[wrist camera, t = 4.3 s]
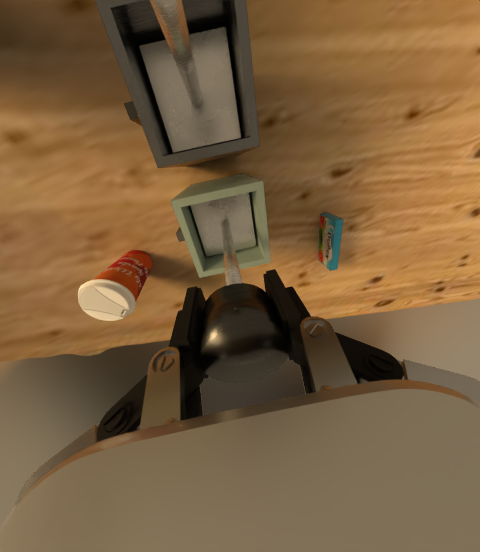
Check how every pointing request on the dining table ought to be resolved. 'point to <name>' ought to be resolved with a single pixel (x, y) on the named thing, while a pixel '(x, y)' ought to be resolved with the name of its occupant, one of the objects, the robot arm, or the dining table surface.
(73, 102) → the dining table surface
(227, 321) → the glossy black knobbed rod
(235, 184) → the green press
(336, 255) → the blue cardboard box
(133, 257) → the coffee cup
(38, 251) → the dining table surface
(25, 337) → the dining table surface
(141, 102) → the box
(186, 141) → the charcoal plunger
